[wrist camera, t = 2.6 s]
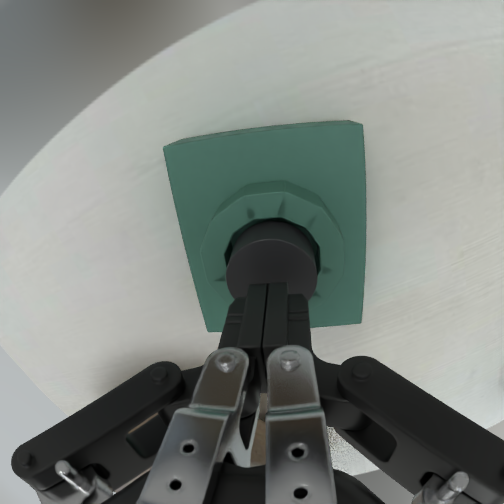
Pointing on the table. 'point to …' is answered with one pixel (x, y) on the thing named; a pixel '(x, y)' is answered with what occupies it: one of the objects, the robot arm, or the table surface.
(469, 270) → the table surface
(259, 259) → the button
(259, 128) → the green push button box
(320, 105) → the table surface
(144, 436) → the robot arm
